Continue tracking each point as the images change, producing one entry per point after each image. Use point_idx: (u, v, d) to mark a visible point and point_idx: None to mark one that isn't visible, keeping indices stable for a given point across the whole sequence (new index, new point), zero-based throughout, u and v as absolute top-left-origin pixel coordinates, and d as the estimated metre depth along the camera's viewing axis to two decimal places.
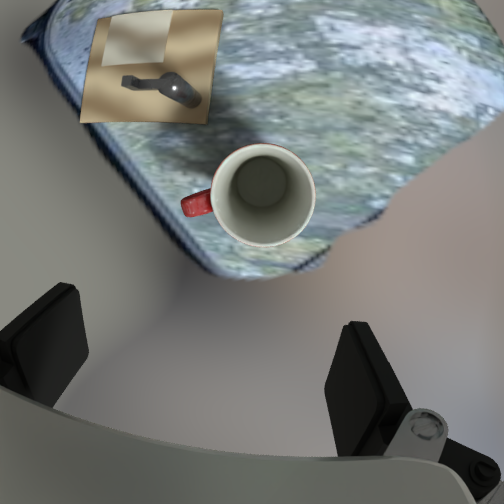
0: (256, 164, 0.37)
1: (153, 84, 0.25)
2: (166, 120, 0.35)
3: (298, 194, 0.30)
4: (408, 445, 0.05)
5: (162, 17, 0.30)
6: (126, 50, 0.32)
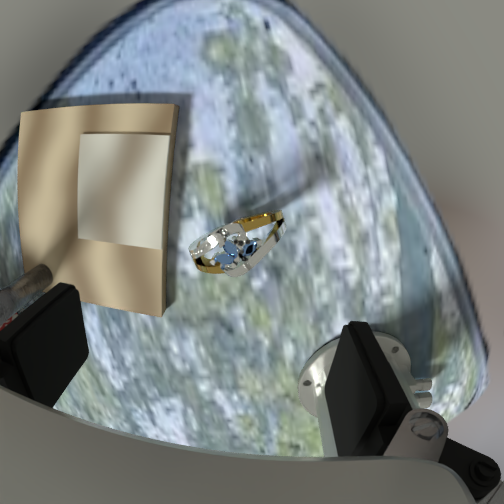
0: None
1: None
2: (21, 243, 0.25)
3: None
4: (408, 445, 0.05)
5: (147, 233, 0.24)
6: (96, 177, 0.23)
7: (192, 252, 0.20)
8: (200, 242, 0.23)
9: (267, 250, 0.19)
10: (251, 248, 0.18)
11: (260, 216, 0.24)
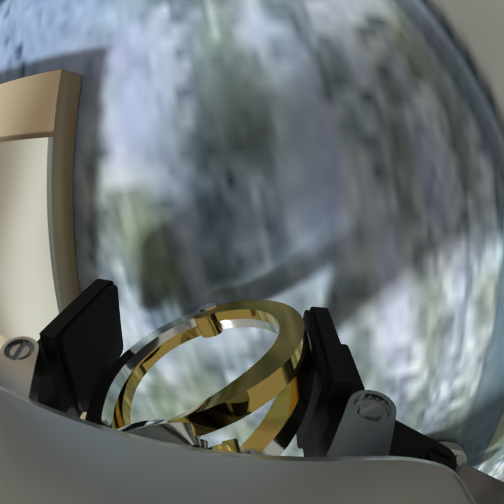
0: None
1: None
2: None
3: None
4: (357, 428, 0.05)
5: None
6: None
7: None
8: (123, 371, 0.09)
9: None
10: None
11: (251, 312, 0.10)
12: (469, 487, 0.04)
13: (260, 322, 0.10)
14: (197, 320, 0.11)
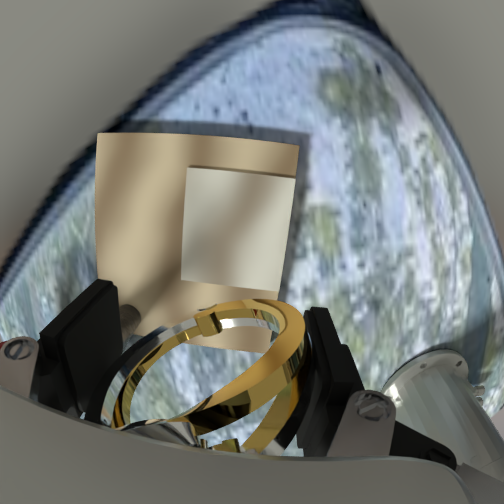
0: None
1: None
2: None
3: None
4: (357, 428, 0.05)
5: (265, 276, 0.25)
6: (209, 216, 0.23)
7: None
8: (122, 371, 0.09)
9: None
10: None
11: (251, 311, 0.10)
12: (469, 487, 0.04)
13: (260, 321, 0.10)
14: (197, 319, 0.11)
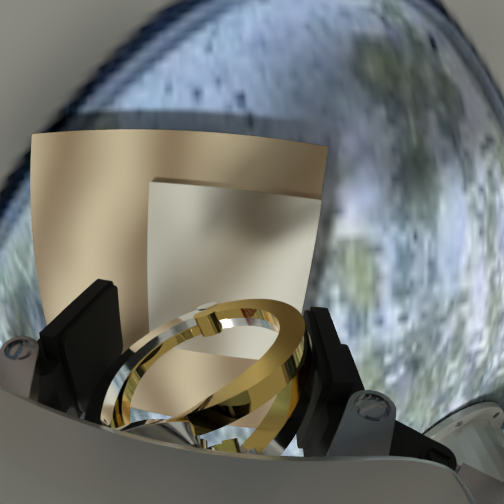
0: None
1: None
2: None
3: None
4: (357, 428, 0.05)
5: (271, 343, 0.16)
6: (185, 258, 0.15)
7: None
8: (122, 370, 0.09)
9: None
10: None
11: (251, 311, 0.10)
12: (469, 487, 0.04)
13: (260, 321, 0.10)
14: (197, 319, 0.11)
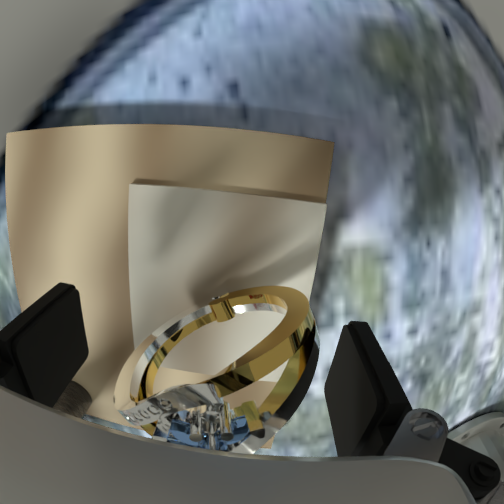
0: None
1: None
2: None
3: None
4: (408, 445, 0.05)
5: None
6: (170, 271, 0.13)
7: None
8: (145, 355, 0.11)
9: (279, 425, 0.07)
10: (239, 434, 0.06)
11: (261, 297, 0.12)
12: None
13: (269, 306, 0.12)
14: (212, 306, 0.12)
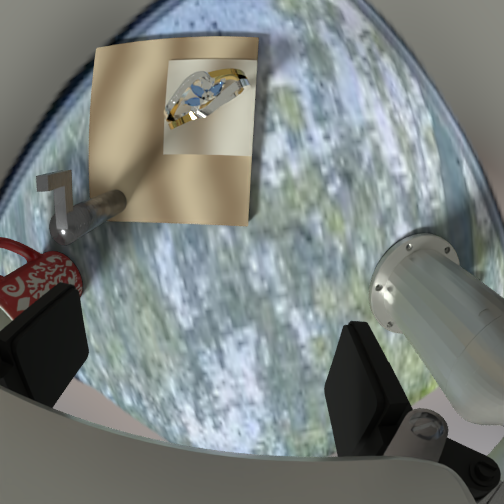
0: None
1: (59, 207, 0.18)
2: (90, 172, 0.27)
3: None
4: (408, 445, 0.05)
5: (238, 142, 0.26)
6: (187, 95, 0.25)
7: (166, 109, 0.20)
8: (175, 116, 0.23)
9: (232, 91, 0.19)
10: (217, 88, 0.18)
11: None
12: None
13: (233, 95, 0.23)
14: (207, 103, 0.24)
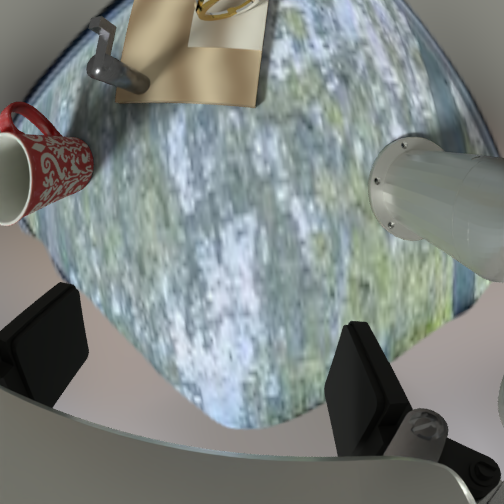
0: None
1: (100, 49, 0.19)
2: None
3: None
4: (408, 445, 0.05)
5: (251, 39, 0.27)
6: (212, 6, 0.26)
7: None
8: None
9: None
10: None
11: (246, 1, 0.25)
12: None
13: (249, 3, 0.24)
14: (228, 9, 0.25)
